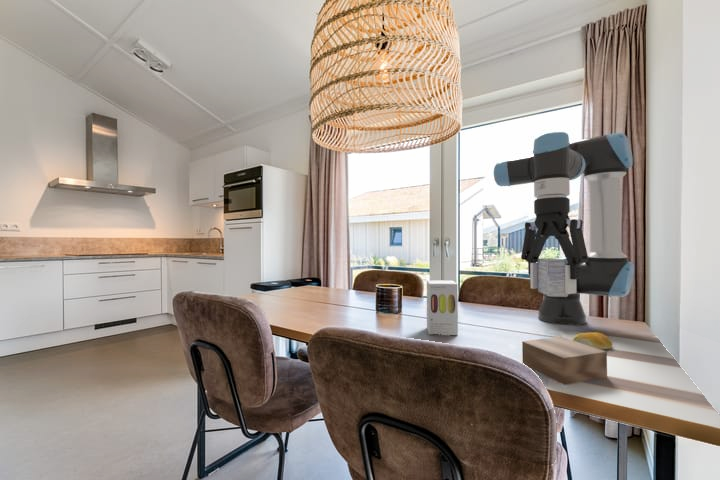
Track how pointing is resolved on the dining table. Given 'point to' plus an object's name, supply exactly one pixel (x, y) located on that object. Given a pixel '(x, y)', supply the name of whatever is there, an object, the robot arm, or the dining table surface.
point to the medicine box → (552, 277)
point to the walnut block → (565, 359)
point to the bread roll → (594, 340)
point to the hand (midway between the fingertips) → (552, 290)
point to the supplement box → (442, 307)
